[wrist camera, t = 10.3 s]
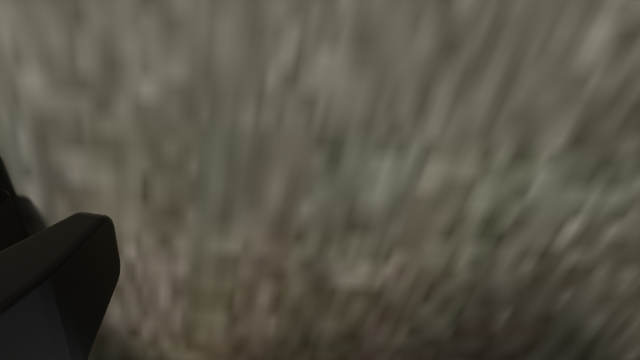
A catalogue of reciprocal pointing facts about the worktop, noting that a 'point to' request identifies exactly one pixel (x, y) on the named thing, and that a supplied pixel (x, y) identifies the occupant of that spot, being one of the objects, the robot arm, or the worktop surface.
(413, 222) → the worktop surface
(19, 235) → the robot arm
